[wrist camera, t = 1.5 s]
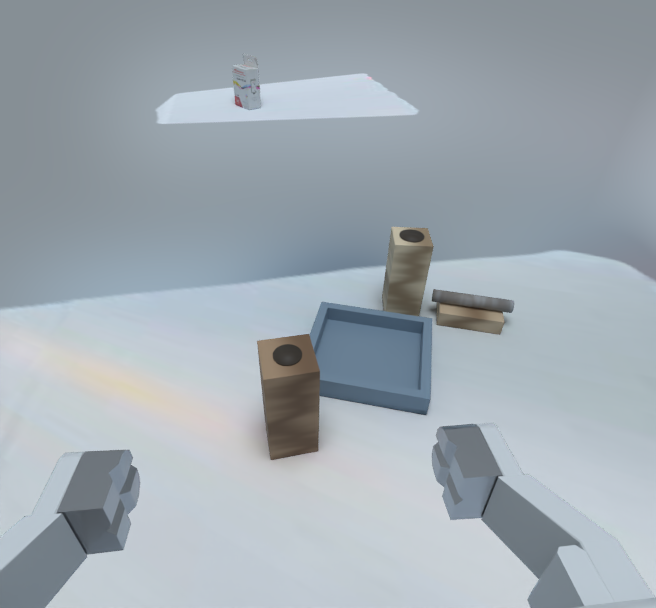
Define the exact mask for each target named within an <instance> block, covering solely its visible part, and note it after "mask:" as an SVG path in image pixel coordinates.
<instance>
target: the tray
mask: <svg viewBox="0 0 656 608" xmlns="http://www.w3.org/2000/svg"><path fill="white" fill-rule="evenodd" d="M310 339H311V342H312V346H313V349H314V352H315V356H316V359H317V363H318V366H319V369H320V394H319V395H320V396H325V397H331V398H336V399H341V400H347V401H352V402H358V403H363V404H369V405H374V406H380V407H385V408H391V409H396V410H402V411H407V412H412V413H418V414H423V415H426V414H427V410H428V406H429V403H430V394H431V348H432V318H426V317H419V316H413V315H406V314H400V313H393V312H386V311H380V310H373V309H366V308H360V307H353V306H347V305H340V304H333V303H327V302H322V303H321V305H320V308H319V311H318V314H317V316H316V319H315V322H314V325H313V327H312V330H311V333H310Z"/></svg>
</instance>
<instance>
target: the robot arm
mask: <svg viewBox="0 0 656 608" xmlns="http://www.w3.org/2000/svg"><path fill="white" fill-rule="evenodd" d="M436 437H437V440H438V443H437V444H435V445H434V446H433V450H432V466H433V470H434V474H435V477H436V480H437V482H438V483H440V484H441V485H442V486H443V487H444V491H443V495H442V497H443V500H444V503H445V506H446V509H447V511H448V514H449V517H450V520H457V519H473V518H482V519H481V520H482V521H483V522H484V523H485V524H486V525H487V526H488V527H489V528H490V529H491V530H492V531H493V532H494V533H495V534H496V535H497V536H498V537H499V538H500V539H501V540H502V541H503V542H504V543H505V545H506V546H507V547H508V548H509V549H510V550H511V551H512V552H513V553H514V554H515V555H516V556H517V557H518V558H519V559H520V560H521V561H522V562H523V563H524V564H525V565H526V566H527V567H528V568H529V569H530V570H531V571H532V572H533V574H534V575H535V576H536V577H537V578H538V579H539V580H538V582H537V583H536V585H535V587H534V588H533V590H532V592H531V593H530V595H529V597H528V602H529V605H530V607H531V608H656V598H655V596H654V595H653V593H652V592H651V590H650V588H649V587H648V585H647V584H646V582H645V581H644V579H643V578H642V576H641V575H640V573H639V572H638V570H637V569H636V567H635V566H634V564H633V563H632V561H631V559H630V558H629V556H628V555H627V553H626V552H625V550H624V549H623V547H622V546H621V544H620V543H619V541H618V540H617V539H616V538H615V537H613V536H612V535H611V534H609V533H608V532H607V531H605V530H604V529H603V528H601V527H600V526H598V525H597V524H596V523H594V522H593V521H592V520H590V519H589V518H588V517H586V516H585V515H584V514H582V513H581V512H579V511H578V510H577V509H575V508H574V507H573V506H571V505H570V504H569V503H567V502H566V501H565V500H563V499H562V498H561V497H559V496H558V495H556V494H555V493H554V492H552V491H551V490H550V489H548V488H547V487H546V486H544V485H543V484H542V483H540V482H539V481H538V480H536V479H535V478H533V477H532V476H531V475H529V474H523V472H522V471H521V469H520V467H519V465H518V463H517V462H516V460H515V458H514V456H513V454H512V452H511V451H510V449H509V447H508V445H507V443H506V442H505V440H504V438H503V436H502V434H501V433H500V431H499V429H498V427H497V426H496V425H495V424H494V423H484V424H466V425H455V426H443V427H439V428H438V429H437V433H436ZM132 459H133V457H132V454H131V452H130V450H110V451H88V452H71V453H64V454H63V455H62V456H61V458H60V459H59V460H58V462H57V464H56V466H55V468H54V470H53V472H52V474H51V476H50V478H49V480H48V482H47V484H46V486H45V488H44V490H43V492H42V494H41V496H40V498H39V500H38V502H37V504H36V506H35V508H34V510H33V513H32V515H31V516H24V517H23V518H22V519H21V520H19V521H18V522H17V523H16V524H15V525H14V526H12V527H11V528H10V529H9V530H8V531H7V532H5V533H4V534H3V535H2V536H1V537H0V608H45V607H46V606H47V605H48V603H49V602H50V601H51V600H52V599H53V597H54V596H55V595H56V594H57V593H58V591H59V590H60V589H61V588H62V587H63V585H64V584H65V583H66V582H67V581H68V579H69V578H70V577H71V576H72V574H73V573H74V572H75V571H76V570H77V568H78V567H79V566H80V565H81V564H82V562H83V561H84V560H85V559H86V558H87V554H95V553H104V552H112V551H120V550H124V546H125V543H126V539H127V536H128V533H129V529H130V526H131V522H130V519H129V517H128V514H129V513H130V512H131V511H132V510H133V509H134V508H135V507H136V505H137V501H138V497H139V490H140V477H139V473H138V470H137V468H135V467H134V466H132V465H131V463H132Z"/></svg>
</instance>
